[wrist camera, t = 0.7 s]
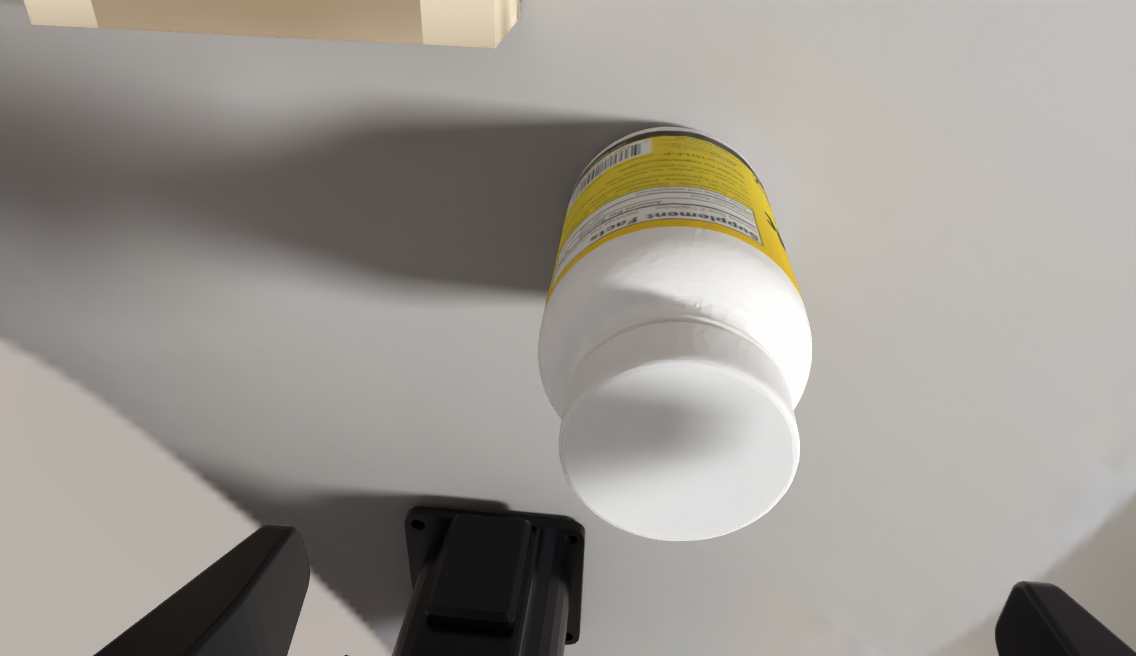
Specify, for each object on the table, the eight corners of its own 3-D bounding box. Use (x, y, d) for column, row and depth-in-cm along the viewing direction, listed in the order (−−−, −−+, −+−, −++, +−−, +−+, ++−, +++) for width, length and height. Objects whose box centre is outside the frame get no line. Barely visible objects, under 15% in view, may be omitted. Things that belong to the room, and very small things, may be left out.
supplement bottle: (738, 318, 22) (785, 595, 14) (555, 285, 22) (495, 543, 14) (795, 140, 19) (897, 358, 11) (585, 102, 19) (531, 292, 11)
